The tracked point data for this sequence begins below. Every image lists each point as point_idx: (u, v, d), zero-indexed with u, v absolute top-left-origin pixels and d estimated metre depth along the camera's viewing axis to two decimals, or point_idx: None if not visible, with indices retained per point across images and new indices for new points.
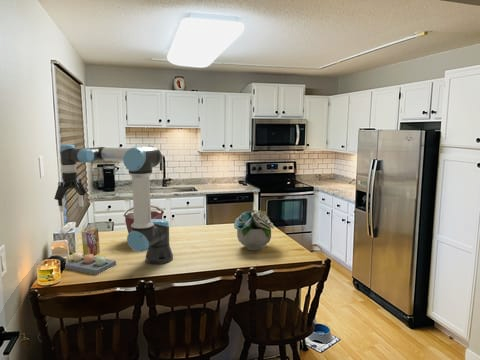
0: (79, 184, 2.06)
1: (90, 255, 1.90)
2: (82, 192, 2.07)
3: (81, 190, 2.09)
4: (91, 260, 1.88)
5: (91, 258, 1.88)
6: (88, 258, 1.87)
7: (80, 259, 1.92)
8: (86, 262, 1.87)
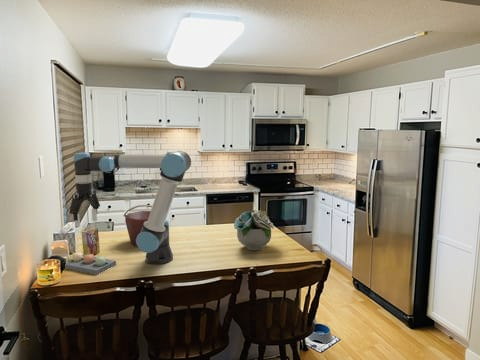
0: (93, 196, 1.90)
1: (90, 255, 1.90)
2: (96, 205, 1.91)
3: (95, 203, 1.93)
4: (91, 260, 1.88)
5: (91, 258, 1.88)
6: (88, 258, 1.87)
7: (80, 259, 1.92)
8: (86, 262, 1.87)
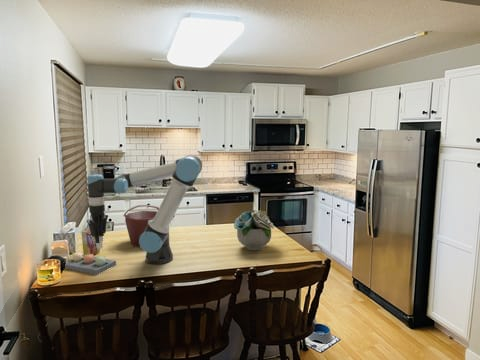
0: (104, 220, 1.87)
1: (90, 255, 1.90)
2: (102, 232, 1.85)
3: None
4: (91, 260, 1.88)
5: (91, 258, 1.88)
6: (88, 258, 1.87)
7: (80, 259, 1.92)
8: (86, 262, 1.87)
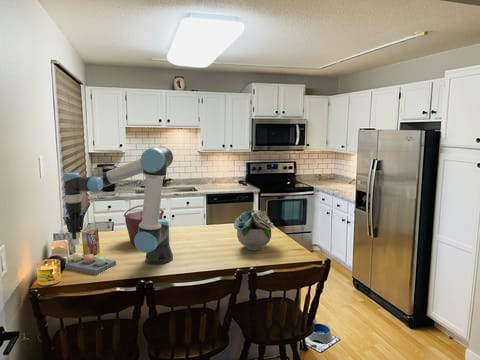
0: (81, 217, 1.93)
1: (90, 255, 1.90)
2: (79, 228, 1.91)
3: None
4: (91, 260, 1.88)
5: (91, 258, 1.88)
6: (88, 258, 1.87)
7: (80, 259, 1.92)
8: (86, 262, 1.87)
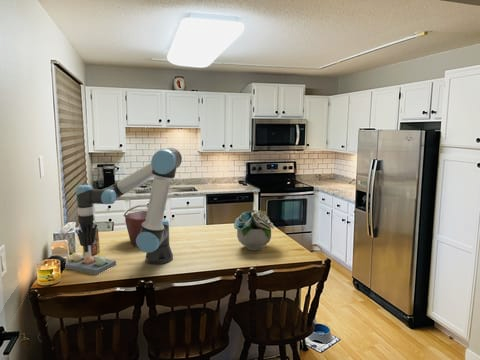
0: (93, 230, 1.91)
1: (90, 257, 1.90)
2: (91, 241, 1.89)
3: None
4: (91, 262, 1.88)
5: (91, 260, 1.88)
6: (88, 259, 1.87)
7: (80, 259, 1.92)
8: None
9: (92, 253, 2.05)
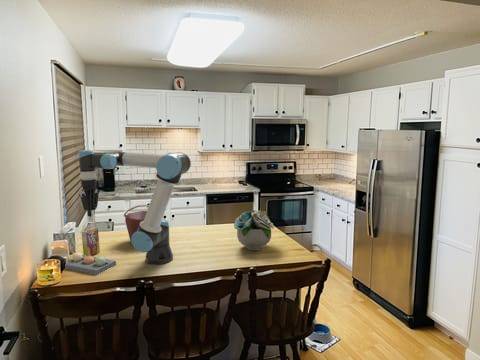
0: (95, 195, 1.94)
1: (90, 257, 1.90)
2: (94, 206, 1.92)
3: None
4: (91, 262, 1.88)
5: (91, 260, 1.88)
6: (88, 260, 1.87)
7: (80, 259, 1.92)
8: None
9: (92, 253, 2.05)
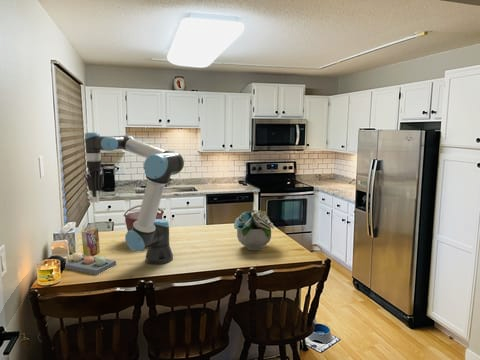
0: (100, 176, 2.00)
1: (90, 257, 1.90)
2: (99, 187, 1.99)
3: None
4: (91, 262, 1.88)
5: (91, 260, 1.88)
6: (88, 260, 1.87)
7: (80, 259, 1.92)
8: None
9: (92, 253, 2.05)
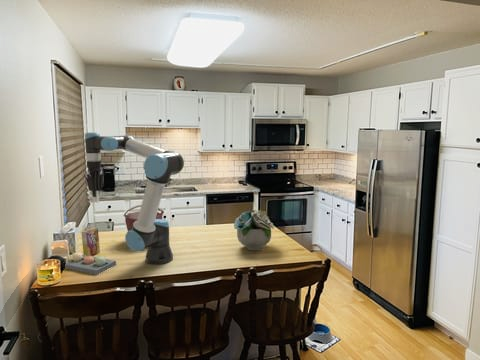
0: (100, 176, 2.00)
1: (90, 257, 1.90)
2: (99, 187, 1.99)
3: None
4: (91, 262, 1.88)
5: (91, 260, 1.88)
6: (88, 260, 1.87)
7: (80, 259, 1.92)
8: None
9: (92, 253, 2.05)
